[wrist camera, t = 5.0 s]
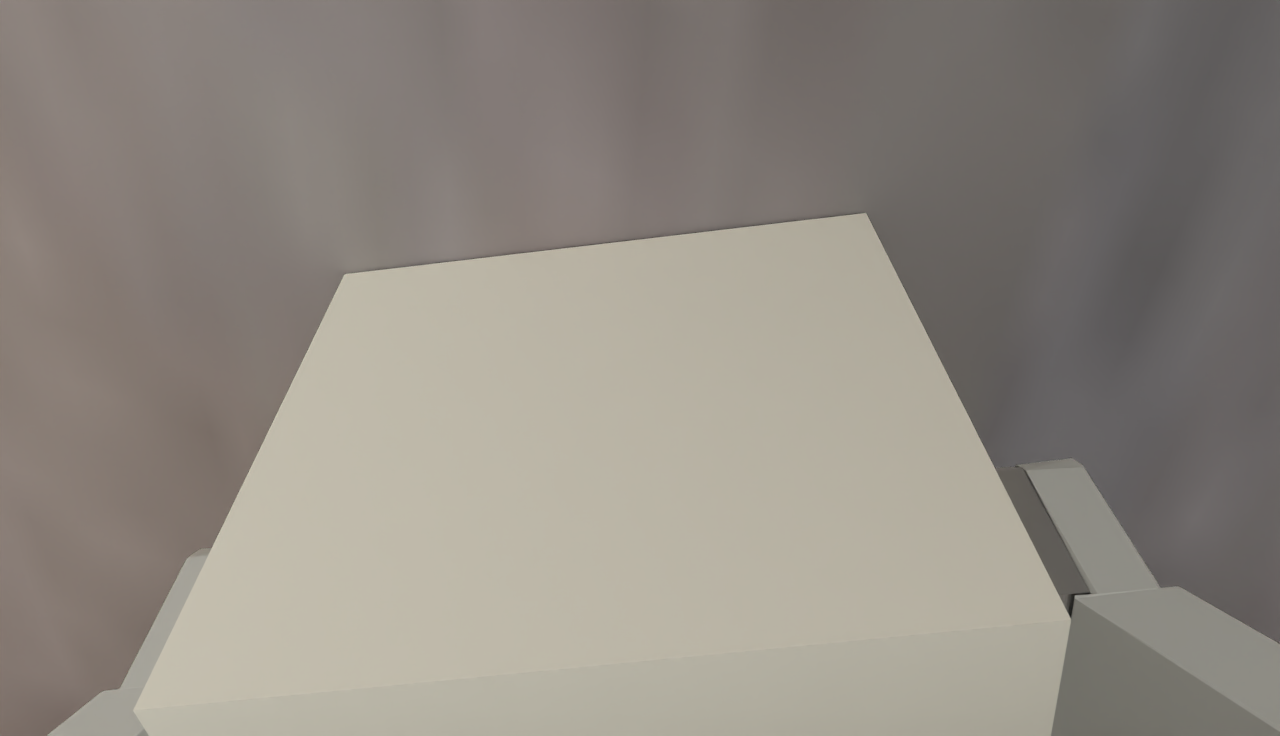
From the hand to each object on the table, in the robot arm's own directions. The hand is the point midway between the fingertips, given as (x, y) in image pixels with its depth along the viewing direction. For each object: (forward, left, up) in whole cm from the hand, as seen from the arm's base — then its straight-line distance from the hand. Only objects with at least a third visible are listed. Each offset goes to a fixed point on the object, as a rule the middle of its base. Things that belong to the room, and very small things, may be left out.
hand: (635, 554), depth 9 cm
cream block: (0, 0, -2) cm, 2 cm away
